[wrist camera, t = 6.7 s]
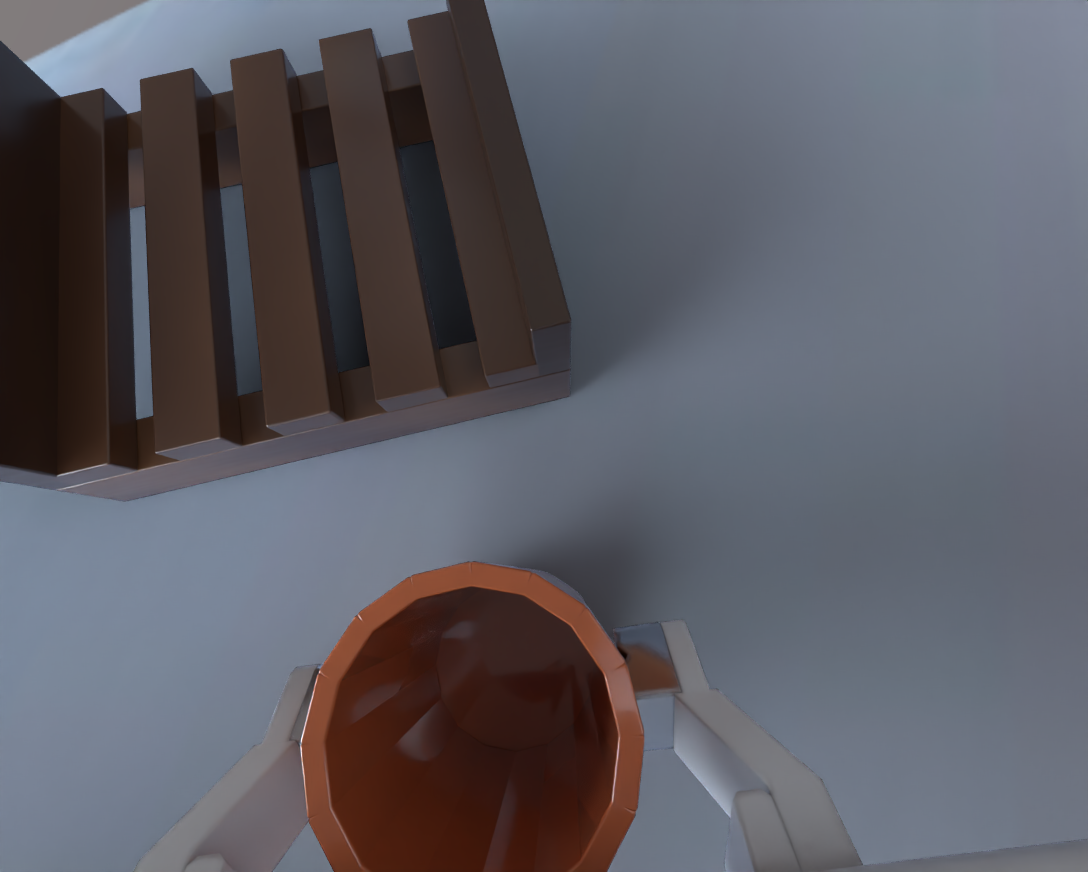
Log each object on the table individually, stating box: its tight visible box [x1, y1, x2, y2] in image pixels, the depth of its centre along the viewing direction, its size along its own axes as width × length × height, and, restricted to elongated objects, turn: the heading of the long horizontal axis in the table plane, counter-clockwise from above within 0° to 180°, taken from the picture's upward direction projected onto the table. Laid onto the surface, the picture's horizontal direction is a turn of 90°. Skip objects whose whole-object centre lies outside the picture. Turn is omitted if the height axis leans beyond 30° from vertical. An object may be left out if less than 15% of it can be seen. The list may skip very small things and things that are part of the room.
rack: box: [0, 0, 571, 501], centre depth 16 cm, size 15×13×5 cm
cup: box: [300, 561, 645, 872], centre depth 12 cm, size 5×5×8 cm
